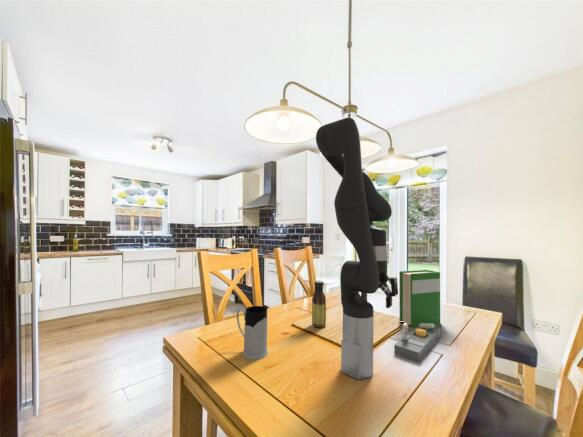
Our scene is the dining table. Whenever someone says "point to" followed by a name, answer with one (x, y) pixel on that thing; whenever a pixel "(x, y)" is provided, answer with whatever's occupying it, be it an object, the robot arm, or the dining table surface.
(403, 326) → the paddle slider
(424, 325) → the rocker switch
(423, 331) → the push button
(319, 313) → the sauce bottle
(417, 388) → the dining table surface
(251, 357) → the grey black pitcher
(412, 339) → the control panel
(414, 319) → the hardback book
